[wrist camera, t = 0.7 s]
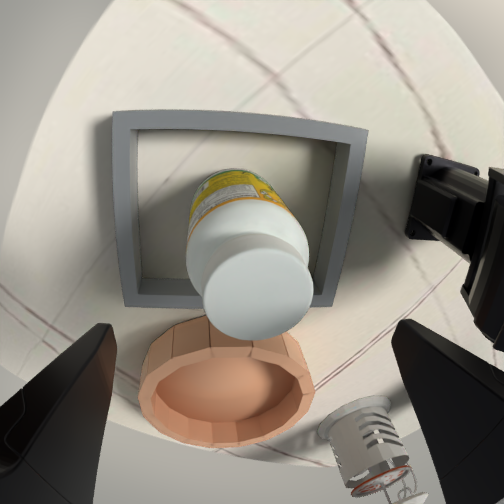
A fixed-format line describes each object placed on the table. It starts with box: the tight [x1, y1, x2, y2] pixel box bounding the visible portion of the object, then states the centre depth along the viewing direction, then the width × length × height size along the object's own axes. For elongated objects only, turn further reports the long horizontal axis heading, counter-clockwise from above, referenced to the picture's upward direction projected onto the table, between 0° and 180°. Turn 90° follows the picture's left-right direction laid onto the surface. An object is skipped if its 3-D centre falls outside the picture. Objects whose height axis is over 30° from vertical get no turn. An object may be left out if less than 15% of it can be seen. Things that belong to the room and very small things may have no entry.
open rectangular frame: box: [112, 110, 368, 309], centre depth 19 cm, size 14×12×2 cm
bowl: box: [138, 315, 315, 448], centre depth 24 cm, size 14×14×4 cm
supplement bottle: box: [186, 168, 313, 340], centre depth 15 cm, size 5×5×10 cm
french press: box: [317, 396, 428, 504], centre depth 22 cm, size 10×12×25 cm
